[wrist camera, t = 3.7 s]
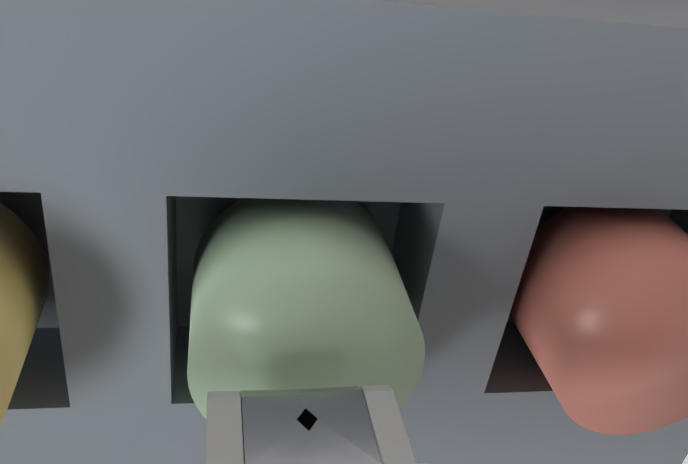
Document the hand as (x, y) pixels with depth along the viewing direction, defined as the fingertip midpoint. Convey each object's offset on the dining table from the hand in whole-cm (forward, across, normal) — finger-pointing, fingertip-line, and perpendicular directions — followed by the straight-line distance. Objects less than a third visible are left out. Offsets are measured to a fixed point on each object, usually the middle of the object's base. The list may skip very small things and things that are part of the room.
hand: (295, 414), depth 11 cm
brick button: (+4, -7, 0) cm, 8 cm away
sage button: (+4, 0, 0) cm, 4 cm away
